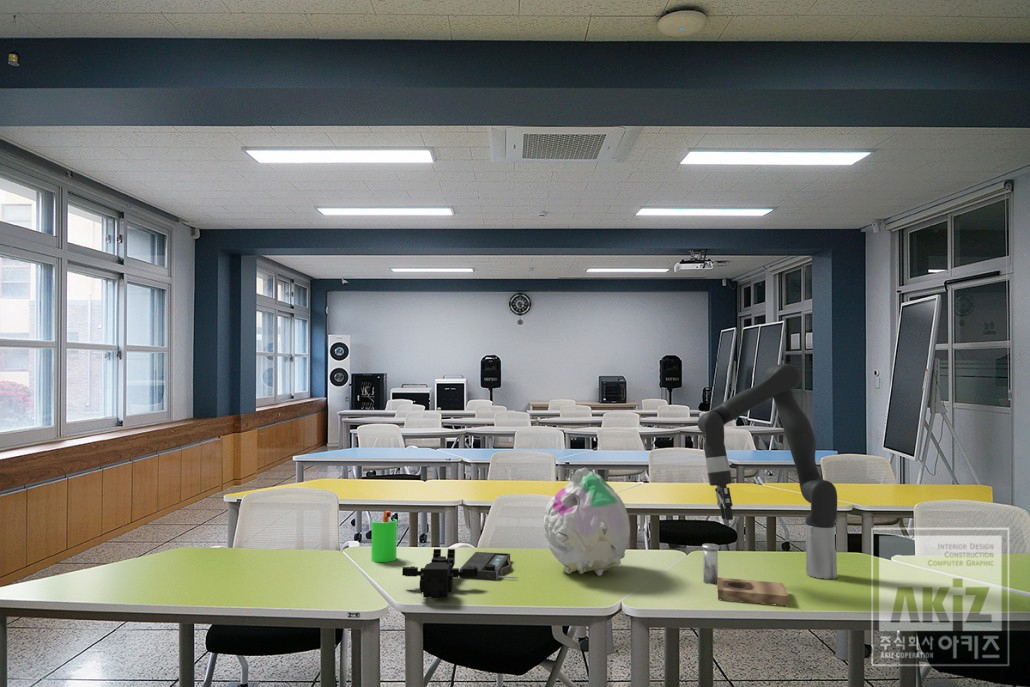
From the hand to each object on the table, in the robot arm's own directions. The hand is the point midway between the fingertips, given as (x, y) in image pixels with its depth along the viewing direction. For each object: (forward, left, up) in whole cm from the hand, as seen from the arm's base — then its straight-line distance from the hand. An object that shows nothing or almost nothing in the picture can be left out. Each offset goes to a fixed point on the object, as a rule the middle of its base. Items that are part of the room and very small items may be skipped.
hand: (727, 519), depth 223 cm
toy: (+89, +37, -21) cm, 98 cm away
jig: (-6, +14, -21) cm, 26 cm away
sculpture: (+48, +2, -21) cm, 52 cm away
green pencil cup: (+122, +10, -21) cm, 124 cm away
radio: (+79, +10, -21) cm, 82 cm away
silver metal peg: (+6, +2, -21) cm, 22 cm away
